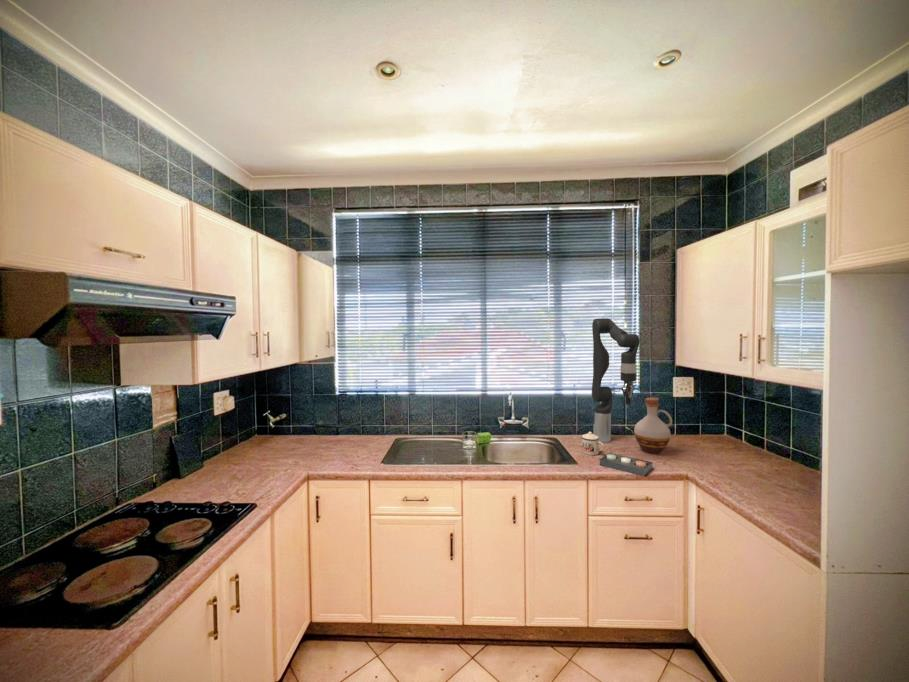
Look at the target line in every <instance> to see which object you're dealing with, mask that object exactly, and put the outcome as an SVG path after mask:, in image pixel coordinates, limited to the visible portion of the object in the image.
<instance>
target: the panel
mask: <svg viewBox="0 0 909 682" xmlns="http://www.w3.org/2000/svg"><path fill="white" fill-rule="evenodd" d="M607 454H613V455H616V460H613V459H608V458H607ZM622 457H627V458H630V459H631V463H630V464H629V463H625V462H621V458H622ZM636 461H644V462H646V467H642V466H638V465H636ZM653 465H654V462H652V461H648V460H643V459H640V458H635V457H631V456H626V455H621V454H619V453H618V454H617V453H613V452H608V453H606V454H605V455H604V456H602V457H601V458H599V466H601V467H605V468H610V469H614V470H618V471H621V472H626V473H629V474H634V475H637V476H641V477H646V475H648V473H650V472H651V471H652V470H653V468H654V467H653Z"/></svg>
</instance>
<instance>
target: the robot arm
mask: <svg viewBox="0 0 909 682" xmlns="http://www.w3.org/2000/svg"><path fill="white" fill-rule="evenodd" d="M591 331H592V339H593V340H592V342H593V345H592V346H593V348H592V351H593V353H592V366H593V367H592V368H593V369H592V370H593V371H592V383H591V385H592V386H591V398H592V400H593V401H594V402H595V403H598V402H599V403H600V404H599V405H597V406H595V407H594V423H593V429H592V430H593V432H592V434H594V435H596V436H598V437H599V442H602V443H608V442H611V440H612V433H611V431H612V428H611V427H612V419H611V418H612V416H611V415H612V407H613V392H612V391H613V390H612V388H611V387H610V386H602V385H601V384H602V379H604V376H605V374H606V372H607V371H608V370H609V368H610V367H609V366H610V354H609V352H608V350H607V348H606V347H605V346H604V344H603V342H602V339H601V334H609V336H610V337H611V339H612V340H614V341H615V342H616V343H617V346H618V347H620V348H629V349H628V350H627V351H623V352H621V355H620V381H621V382H623V385H622V386H623V387H621V391H622V395H623V397H625V405H627V406H628V405H632V396H633V395H634V392H635V387H636V386H635V385H634V382H637V362H636V361H637V354H638V353H637V352H638V350H639V349H638V348H639V347H640V341H641V339H640V337H639V335H638V334H635V333H628V332H627V331H625V330H624V329H622V328H620V327H619V326H618V325H617V324H616V323H615V322H614V321H613V320H612V319H610V318H605V317H604V318H603V317H602V318H594V319H593V320H592V330H591Z"/></svg>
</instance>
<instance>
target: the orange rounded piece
mask: <svg viewBox="0 0 909 682" xmlns="http://www.w3.org/2000/svg"><path fill="white" fill-rule="evenodd" d="M636 465H638V466H642V467H646V462H644V461H636Z"/></svg>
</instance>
